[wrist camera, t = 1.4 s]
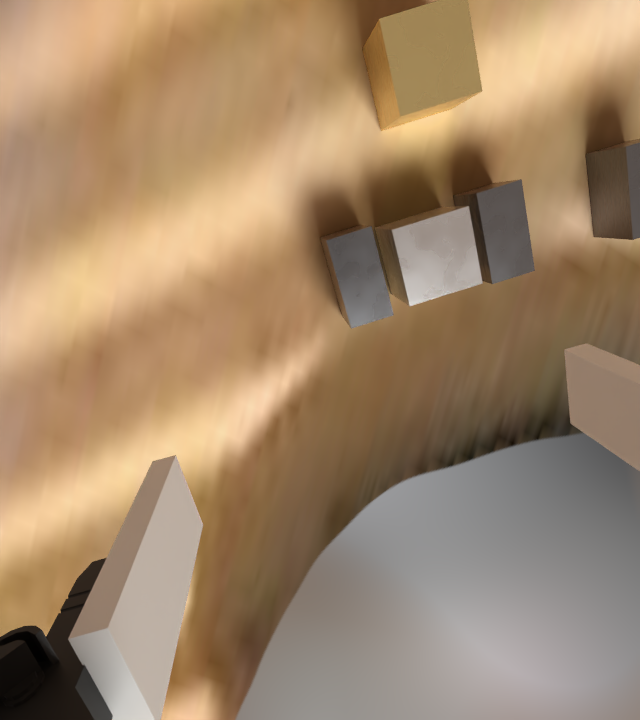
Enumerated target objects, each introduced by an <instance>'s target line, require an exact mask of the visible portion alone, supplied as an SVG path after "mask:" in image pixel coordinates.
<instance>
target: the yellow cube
mask: <svg viewBox="0 0 640 720" xmlns="http://www.w3.org/2000/svg"><path fill="white" fill-rule="evenodd" d="M362 50H363V54H364V58H365V63H366V67H367V72H368V76H369V80H370V85H371V89H372V93H373V98H374V102H375V107H376V111H377V115H378V120H379V124H380V128H381V131H383V130H386V129H389V128H392V127H396V126H399V125H402V124H405V123H408V122H412V121H415V120H418V119H421V118H425V117H428V116H431V115H434V114H437V113H441V112H444V111H447V110H450V109H452V108H454V107H456V106H458V105H459V104H461V103H463V102H464V101H466V100H468V99H470V98H471V97H473V96H475V95H477V94H478V93H480V92H482V86H481V80H480V74H479V68H478V61H477V55H476V49H475V43H474V37H473V30H472V24H471V18H470V12H469V6H468V0H438V1H435V2H432V3H429V4H425V5H422V6H419V7H416V8H412V9H409V10H406V11H403V12H399V13H396V14H393V15H390V16H387V17H383V18H380V19H379V20H378V22H377V24H376V25H375V27H374V29H373V31H372V33H371V34H370V36H369V38H368V40H367V42H366V43H365V45H364V47H363V49H362Z"/></svg>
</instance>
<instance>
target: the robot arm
mask: <svg viewBox="0 0 640 720" xmlns="http://www.w3.org/2000/svg"><path fill="white" fill-rule="evenodd" d="M564 351H565V363H566V375H567V386H568V398H569V410H570V422H571V424H572V425H574V426H575V427H577V428H578V429H580V430H581V431H582V432H584V433H585V434H587V435H588V436H590V437H591V438H593V439H594V440H596V441H597V442H598V443H600V444H601V445H603V446H604V447H606V448H607V449H608V450H610V451H611V452H613V453H614V454H616V455H617V456H618V457H620V458H621V459H623V460H624V461H626V462H627V463H629V464H630V465H632V466H633V467H634V468H636V469H637V470H639V471H640V365H638V364H636V363H633V362H631V361H628V360H626V359H623V358H621V357H618V356H616V355H613V354H611V353H609V352H606V351H604V350H601V349H599V348H596V347H594V346H591V345H589V344H583V345H580V346H576V347H572V348H569V349H565V350H564ZM202 527H203V523H202V521H201V518H200V516H199V513H198V511H197V508H196V505H195V503H194V500H193V498H192V495H191V493H190V490H189V488H188V485H187V482H186V480H185V477H184V475H183V472H182V470H181V467H180V465H179V462H178V460H177V457H176V455H175V456H171V457H167V458H164V459H160V460H156V461H153V462H152V464H151V466H150V468H149V470H148V472H147V474H146V477H145V479H144V481H143V483H142V485H141V487H140V489H139V491H138V493H137V495H136V497H135V500H134V502H133V504H132V506H131V508H130V510H129V512H128V514H127V516H126V518H125V521H124V523H123V525H122V527H121V529H120V531H119V533H118V535H117V537H116V539H115V542H114V544H113V546H112V548H111V550H110V552H109V554H108V556H107V558H105V559H101V560H97V561H94V562H92V563H91V564H90V565H89V566H88V567H87V569H86V570H85V571H84V572H83V573H82V574H81V575H80V576H79V577H78V578H77V580H76V582H75V584H74V586H73V587H72V589H71V591H70V593H69V595H68V599H66V601H65V603H64V604H63V606H62V608H61V613H59V614H58V616H57V618H56V619H55V621H54V623H53V625H52V627H51V629H50V631H49V633H48V635H47V636H46V637H45V635H44V633H43V631H42V630H41V629H40V628H38V627H37V626H23V627H21V628H18V629H15V630H12V631H10V632H8V633H6V634H5V635H3V636H1V637H0V720H112V719H113V720H161V716H162V711H163V707H164V702H165V697H166V693H167V688H168V683H169V679H170V674H171V670H172V665H173V660H174V656H175V651H176V647H177V642H178V637H179V633H180V628H181V624H182V619H183V614H184V610H185V605H186V601H187V596H188V591H189V587H190V582H191V578H192V573H193V568H194V564H195V559H196V555H197V550H198V545H199V541H200V536H201V531H202Z"/></svg>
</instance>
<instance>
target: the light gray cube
mask: <svg viewBox="0 0 640 720" xmlns="http://www.w3.org/2000/svg"><path fill="white" fill-rule="evenodd" d="M375 230H376V234H377V238H378V243H379V247H380V251H381V255H382V259H383V263H384V267H385V271H386V275H387V279H388V283H389V287H390V291H391V294H392V295H394V296H395V297H397V298H398V299H400V300H401V301H403V302H404V303H406V304H407V305H409V306H412V305H415V304H418V303H421V302H425V301H428V300H431V299H434V298H437V297H440V296H444V295H447V294H450V293H453V292H456V291H460V290H463V289H466V288H469V287H472V286H476V285H479V284H482V283H483V282H482V277H481V271H480V266H479V260H478V255H477V249H476V243H475V238H474V232H473V227H472V221H471V216H470V210H469V206H455V207H440V208H436V209H433V210H430V211H427V212H423V213H420V214H417V215H414V216H411V217H407V218H404V219H401V220H398V221H395V222H391V223H388V224H385V225H382V226H379V227H375Z"/></svg>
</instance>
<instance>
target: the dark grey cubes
mask: <svg viewBox="0 0 640 720" xmlns="http://www.w3.org/2000/svg"><path fill="white" fill-rule="evenodd" d="M586 162H587V172H588V182H589V192H590V202H591V212H592V222H593V232H594V237H601V238H616V239H630V240H634V239H637V238H640V139H637V140H632V141H627V142H623V143H620V144H617V145H614V146H611V147H607V148H604V149H601V150H598V151H595V152H591V153H588V154H586ZM453 198H454V203H455V206H469V210H470V216H471V221H472V227H473V232H474V238H475V243H476V249H477V255H478V260H479V266H480V271H481V277H482V281H485V282H488V283H491V284H494V283H497V282H500V281H503V280H507V279H510V278H513V277H516V276H519V275H522V274H526V273H529V272H532V271H535V269H534V263H533V256H532V249H531V242H530V235H529V228H528V221H527V214H526V207H525V200H524V193H523V186H522V180H521V179H520V180H513V181H506V182H499V183H492V184H489V185H486V186H483V187H480V188H476V189H473V190H470V191H467V192H464V193H460V194H457V195H454V196H453ZM320 240H321V243H322V247H323V250H324V254H325V257H326V261H327V264H328V268H329V271H330V275H331V278H332V282H333V285H334V289H335V292H336V296H337V299H338V303H339V306H340V310H341V313H342V316H343V318H344V319H345V321H346V322H347V323H348V325H349V326H350V328H354V327H357V326H361V325H364V324H367V323H370V322H373V321H376V320H380V319H383V318H386V317H389V316H392V315H393V311H392V307H391V303H390V299H389V295H388V291H387V287H386V283H385V279H384V275H383V271H382V267H381V263H380V259H379V255H378V251H377V247H376V243H375V239H374V235H373V231H372V226H365V225H358V226H355V227H352V228H349V229H345V230H342V231H339V232H336V233H333V234H329V235H326V236H323V237H320Z"/></svg>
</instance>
